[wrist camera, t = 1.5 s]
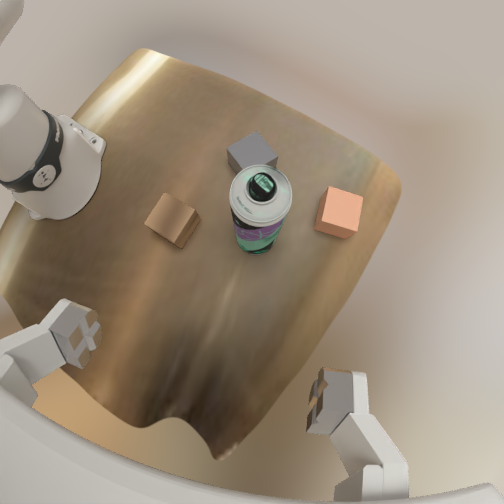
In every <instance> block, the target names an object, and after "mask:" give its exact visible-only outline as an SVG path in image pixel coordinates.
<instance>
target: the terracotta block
mask: <svg viewBox="0 0 504 504" xmlns="http://www.w3.org/2000/svg"><path fill="white" fill-rule="evenodd" d="M362 202H363V197H361V196H358V195H355V194H352V193H349V192H346V191H343V190H340V189H337V188H333V187H330V186H329V187H328V188H327V190H326V191H325V193H324V194H323V196H322V197H321V200H320V204H319V209H318V213H317V217H316V222H315V226H314V230H317V231H320V232H324V233H327V234H330V235H334V236H337V237H340V238H344V239H347V238H348V237H350V236H351V235H353V234H354V233H356V232H357V230H358V225H359V219H360V214H361V208H362Z"/></svg>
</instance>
